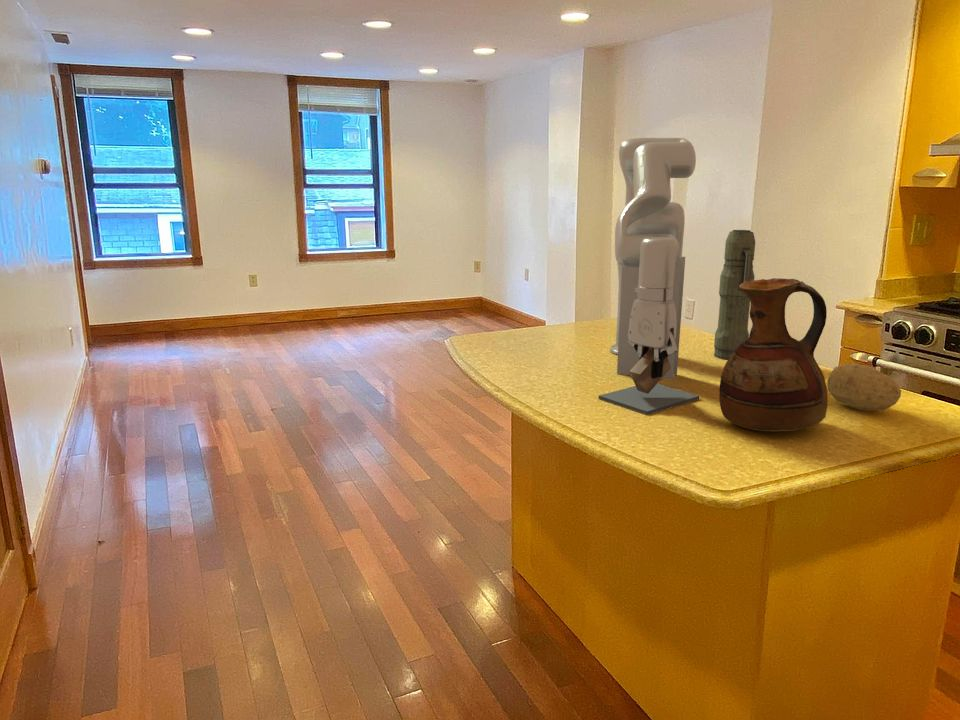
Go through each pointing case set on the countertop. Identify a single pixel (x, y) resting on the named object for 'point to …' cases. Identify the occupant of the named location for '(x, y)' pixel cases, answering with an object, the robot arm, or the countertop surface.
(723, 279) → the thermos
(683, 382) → the countertop surface
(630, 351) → the thin beige panel
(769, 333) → the ceramic pitcher
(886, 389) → the potato
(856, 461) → the countertop surface
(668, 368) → the brown angular block
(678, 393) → the mat
